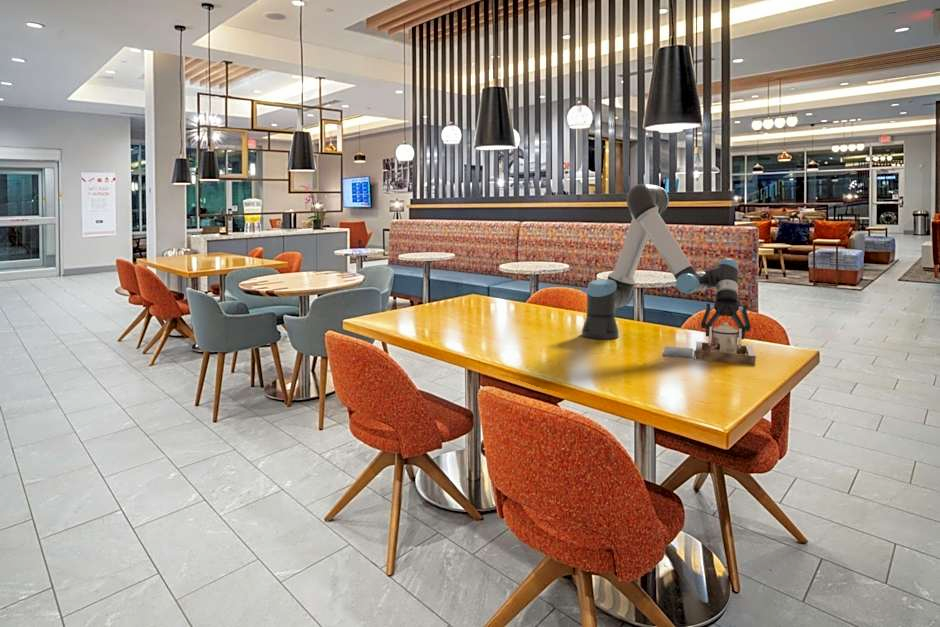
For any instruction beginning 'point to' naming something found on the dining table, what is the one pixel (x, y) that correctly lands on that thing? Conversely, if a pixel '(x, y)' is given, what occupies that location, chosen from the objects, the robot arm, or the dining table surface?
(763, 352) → the dining table surface
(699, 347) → the walnut board
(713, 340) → the teacup with lid
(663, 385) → the dining table surface
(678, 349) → the charcoal rubber mat
